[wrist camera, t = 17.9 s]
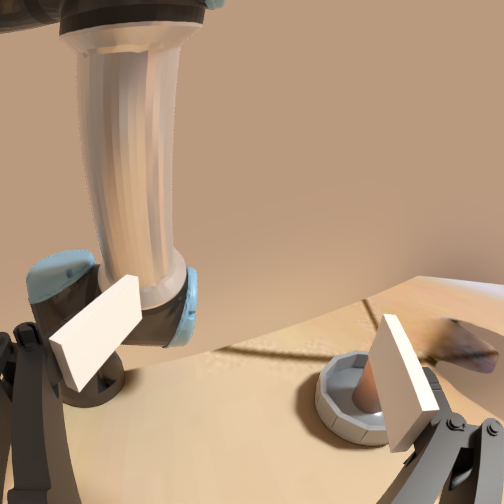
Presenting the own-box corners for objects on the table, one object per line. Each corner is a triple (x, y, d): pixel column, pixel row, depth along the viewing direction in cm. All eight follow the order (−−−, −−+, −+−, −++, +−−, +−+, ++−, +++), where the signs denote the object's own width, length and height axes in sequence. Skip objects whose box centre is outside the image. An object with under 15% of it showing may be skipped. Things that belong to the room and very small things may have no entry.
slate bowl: (295, 382, 48) (300, 364, 47) (374, 358, 55) (381, 342, 54) (352, 464, 31) (363, 449, 29) (432, 416, 38) (444, 400, 36)
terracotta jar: (342, 392, 44) (364, 339, 40) (372, 381, 47) (395, 329, 43) (365, 420, 38) (395, 368, 34) (396, 405, 41) (424, 354, 36)
